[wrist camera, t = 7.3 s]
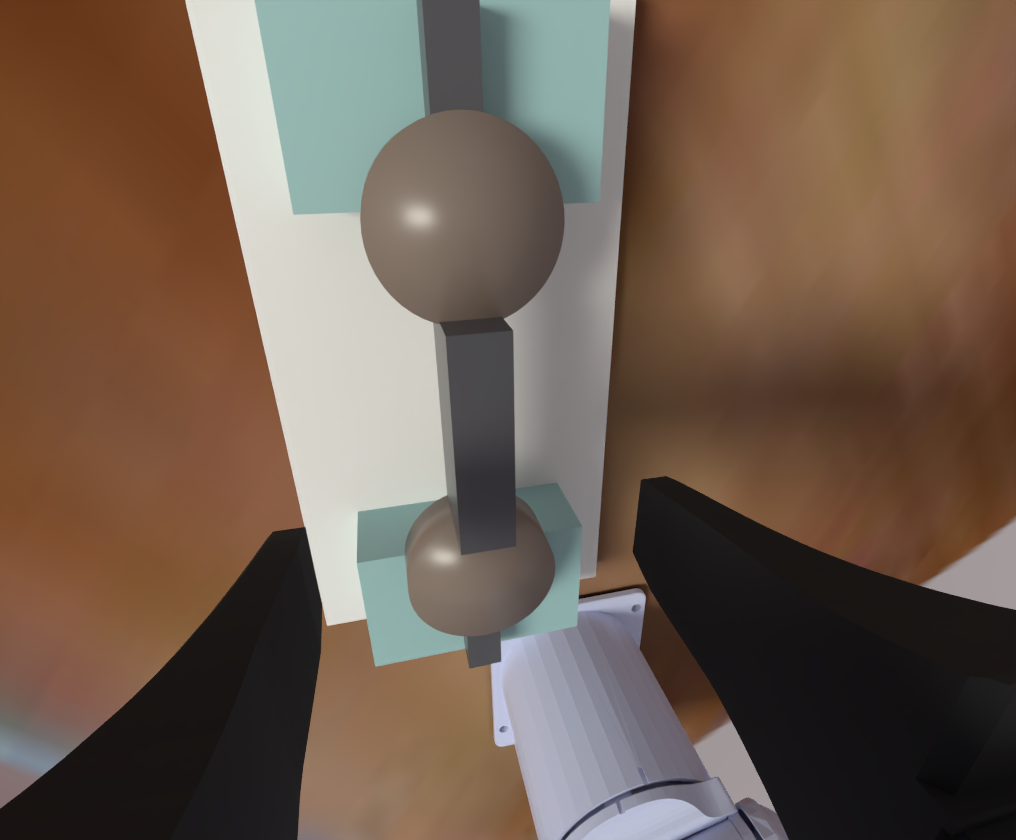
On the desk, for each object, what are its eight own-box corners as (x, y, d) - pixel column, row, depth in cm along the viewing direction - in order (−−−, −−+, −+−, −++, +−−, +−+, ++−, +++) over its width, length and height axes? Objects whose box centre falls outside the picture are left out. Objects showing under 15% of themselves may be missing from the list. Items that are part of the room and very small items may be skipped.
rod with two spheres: (539, 627, 22) (562, 693, 19) (417, 651, 21) (424, 724, 18) (546, 5, 13) (592, -32, 10) (332, -2, 12) (323, -45, 9)
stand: (588, 562, 26) (622, 625, 23) (328, 608, 24) (322, 687, 20) (622, -8, 16) (691, -50, 13) (188, -25, 14) (130, -83, 11)
